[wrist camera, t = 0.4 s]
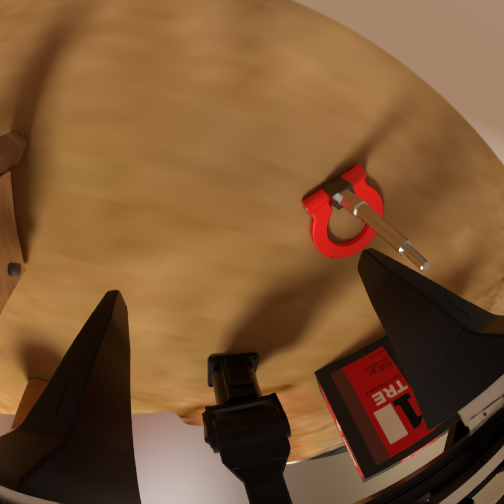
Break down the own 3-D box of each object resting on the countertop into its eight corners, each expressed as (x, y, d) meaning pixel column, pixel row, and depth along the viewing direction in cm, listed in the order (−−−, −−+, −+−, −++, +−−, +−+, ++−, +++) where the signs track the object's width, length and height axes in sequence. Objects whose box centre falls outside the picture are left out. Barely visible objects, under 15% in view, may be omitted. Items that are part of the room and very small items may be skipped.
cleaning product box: (321, 392, 46) (363, 482, 30) (314, 372, 41) (365, 479, 25) (396, 352, 47) (448, 431, 30) (400, 326, 42) (465, 415, 25)
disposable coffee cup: (48, 406, 33) (41, 465, 23) (10, 375, 28) (-5, 438, 18) (83, 401, 34) (79, 468, 24) (42, 367, 28) (28, 441, 18)
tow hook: (384, 224, 30) (362, 156, 24) (461, 296, 19) (467, 221, 14) (325, 265, 31) (290, 204, 25) (389, 355, 20) (370, 300, 15)
